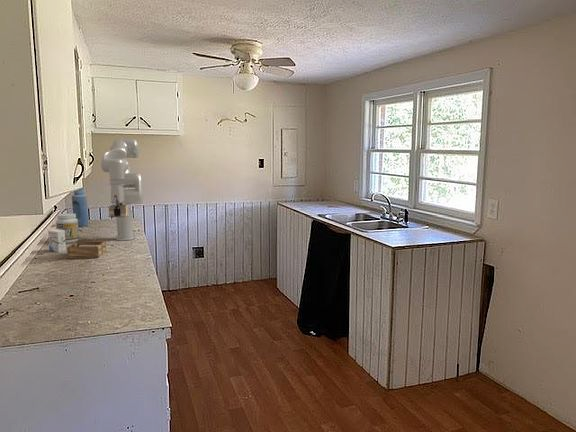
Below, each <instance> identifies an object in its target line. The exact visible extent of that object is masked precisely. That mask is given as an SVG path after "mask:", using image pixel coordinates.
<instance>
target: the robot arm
mask: <svg viewBox="0 0 576 432" xmlns="http://www.w3.org/2000/svg"><path fill="white" fill-rule="evenodd" d="M138 157H140V146H139V142H138V141H137V140H136V139H134V138H117V139H114V141H112V145H111V146H110V148H109V151H106V152H105V153H104V154H103V155H102V156H101V161H100V166H101V167H100V169H101V170H102V171H103V172H104V173H108V175H109V186H110V203H111V204H112V205H114V216H120V215H121V214H120V209H119V208H120V205H128V210H129V216H127V217H115V219H116V232H117V234H116V235H117V236H115V237H114V240H116V241H132V240H135V239H136V238H137V237H136V235H134V223H133V222H134V221H133V211H132V208H130V206H129V205H141V204H142V203H143V201H144V184H143V182H144V181H143V175H142V174H141V173H140V172H131V167H130V164H129V161H127V159H137V158H138ZM130 188H131V189H130Z"/></svg>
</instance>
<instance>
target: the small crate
mask: <svg viewBox="0 0 576 432" xmlns="http://www.w3.org/2000/svg"><path fill="white" fill-rule="evenodd" d="M128 207H129V204H128V205H120V208H119V209H120V214H121V215H120V216H114V204H111V205H109V206H108V218H116V217H127V216H129V210H128Z"/></svg>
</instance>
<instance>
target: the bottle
mask: <svg viewBox="0 0 576 432" xmlns="http://www.w3.org/2000/svg"><path fill="white" fill-rule="evenodd" d="M71 203H72V213H74V214H76V218H77V219H78V228H83V226H85V227H88V226H89V214H88V213H89V211H88V199H87V195H86V194H85V192H84V186H83V187H82V188H81V189H79V190H77V191H74V190H73V195H71Z"/></svg>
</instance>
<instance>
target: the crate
mask: <svg viewBox="0 0 576 432" xmlns="http://www.w3.org/2000/svg"><path fill="white" fill-rule="evenodd" d="M66 251H67V252H66V253H67V259H69V260H70V259H71V260H72V259H99V258H101V256H103V255H104V254H105V253H106V252H107V240H101V241H100V240H94V241H93V240H91V241H89V240H88V241H76V242H73V243H72V244H70V245H69V246H67V247H66Z"/></svg>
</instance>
